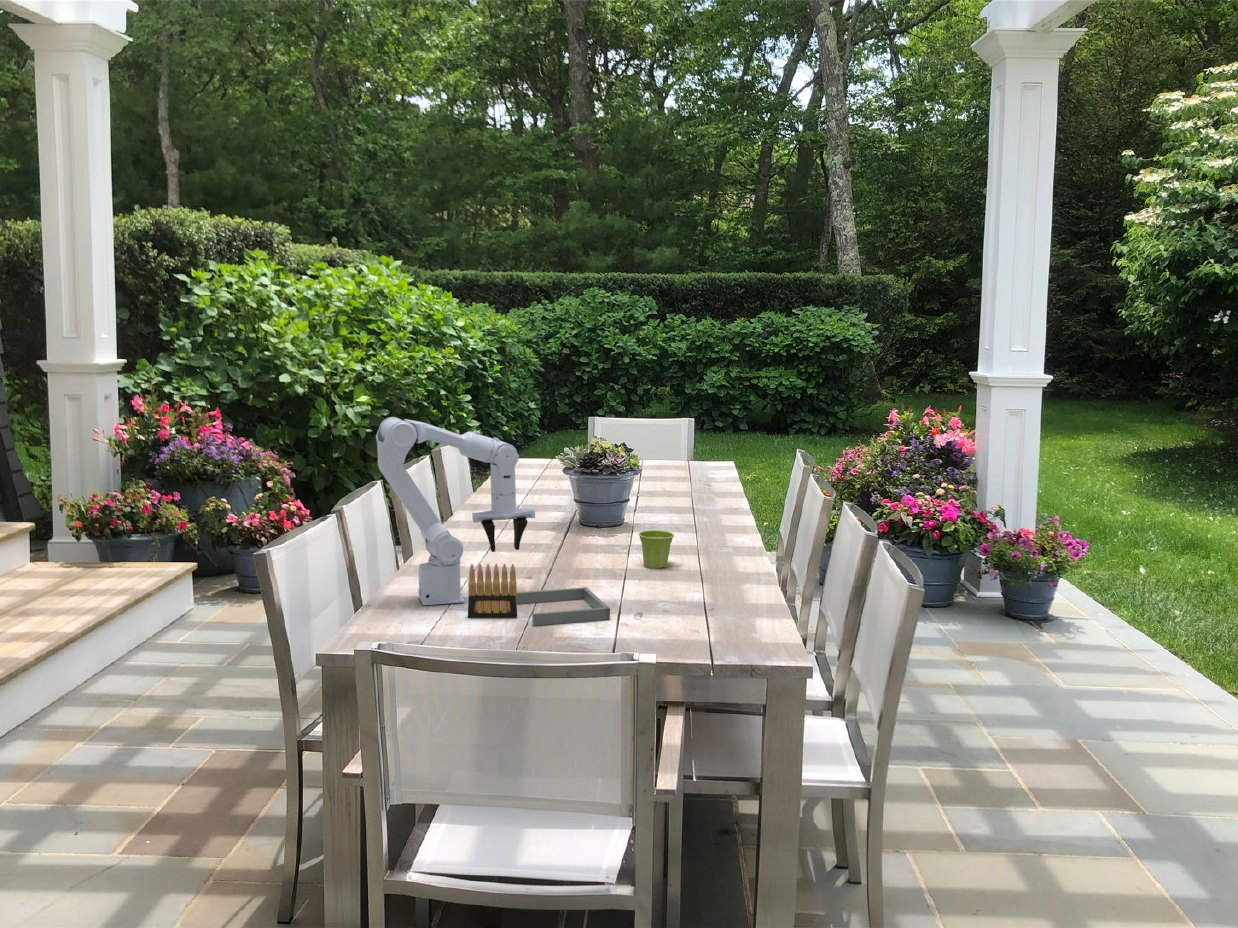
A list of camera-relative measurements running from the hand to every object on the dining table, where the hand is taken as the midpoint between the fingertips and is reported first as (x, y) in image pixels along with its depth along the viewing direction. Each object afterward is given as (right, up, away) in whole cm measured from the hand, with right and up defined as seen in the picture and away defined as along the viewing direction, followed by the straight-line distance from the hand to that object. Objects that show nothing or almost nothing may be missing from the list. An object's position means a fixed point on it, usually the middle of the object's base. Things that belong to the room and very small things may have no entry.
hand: (504, 549), depth 244 cm
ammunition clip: (-1, -13, -17) cm, 22 cm away
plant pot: (+36, -7, +29) cm, 47 cm away
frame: (+13, -13, -13) cm, 22 cm away
